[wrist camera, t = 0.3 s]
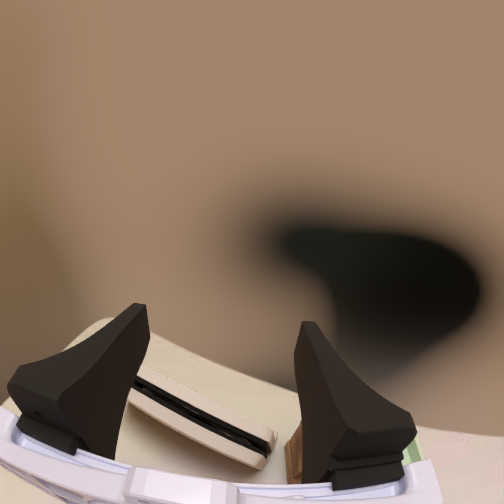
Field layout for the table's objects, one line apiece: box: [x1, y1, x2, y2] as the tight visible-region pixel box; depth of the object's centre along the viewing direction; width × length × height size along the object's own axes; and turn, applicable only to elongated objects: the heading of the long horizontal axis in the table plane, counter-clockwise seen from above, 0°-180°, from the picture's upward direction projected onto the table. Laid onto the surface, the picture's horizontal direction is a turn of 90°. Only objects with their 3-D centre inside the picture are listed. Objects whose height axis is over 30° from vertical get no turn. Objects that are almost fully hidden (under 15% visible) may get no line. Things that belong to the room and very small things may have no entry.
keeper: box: [284, 420, 302, 484], centre depth 21 cm, size 11×7×7 cm, turn 2°
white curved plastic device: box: [127, 365, 278, 470], centre depth 25 cm, size 17×5×10 cm, turn 67°
